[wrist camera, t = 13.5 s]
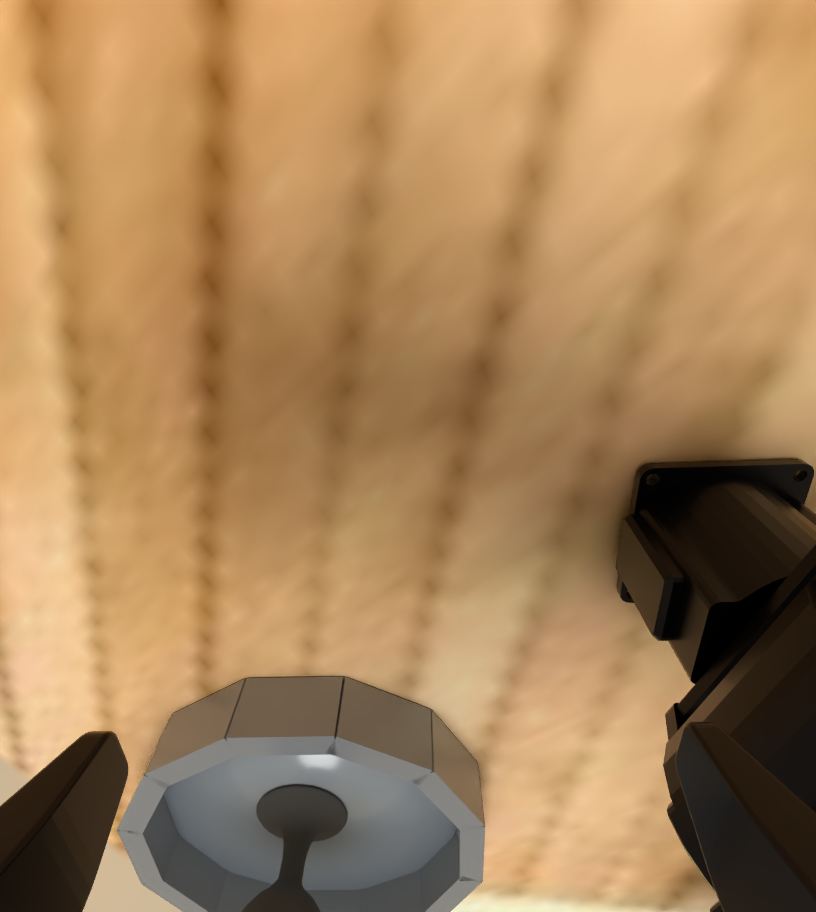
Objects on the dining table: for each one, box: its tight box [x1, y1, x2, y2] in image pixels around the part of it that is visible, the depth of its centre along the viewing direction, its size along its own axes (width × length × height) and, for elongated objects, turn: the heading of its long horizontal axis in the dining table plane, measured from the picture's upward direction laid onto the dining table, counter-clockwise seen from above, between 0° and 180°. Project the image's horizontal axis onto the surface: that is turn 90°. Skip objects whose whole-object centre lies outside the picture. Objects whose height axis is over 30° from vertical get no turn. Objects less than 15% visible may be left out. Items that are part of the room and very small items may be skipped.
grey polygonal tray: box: [117, 676, 485, 912], centre depth 28 cm, size 18×18×3 cm
